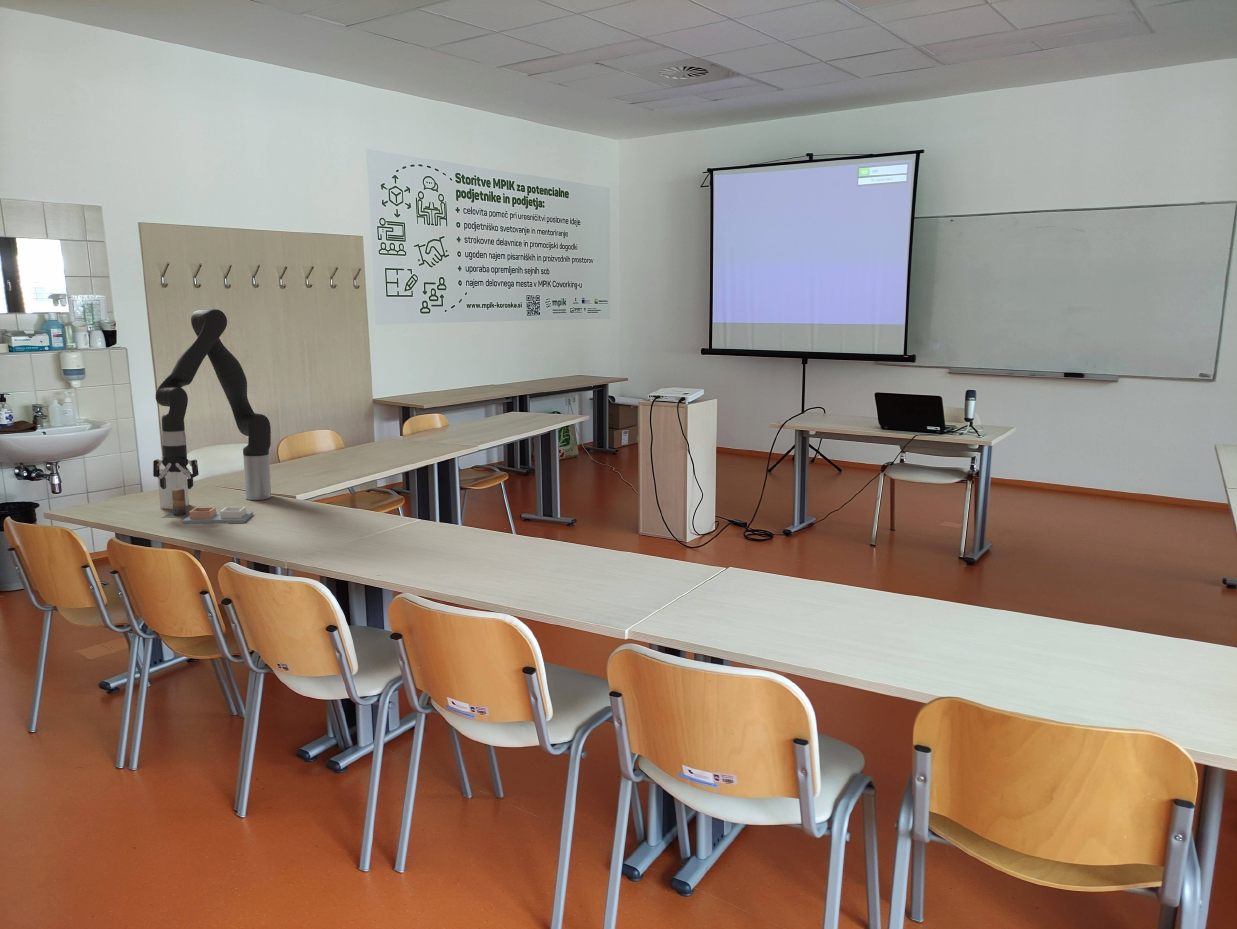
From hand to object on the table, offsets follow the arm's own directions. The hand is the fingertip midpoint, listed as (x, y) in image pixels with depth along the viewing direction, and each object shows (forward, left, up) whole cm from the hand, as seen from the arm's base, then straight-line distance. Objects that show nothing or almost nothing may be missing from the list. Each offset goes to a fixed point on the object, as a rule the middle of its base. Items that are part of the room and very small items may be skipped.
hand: (176, 488), depth 301 cm
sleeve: (0, 0, -9) cm, 9 cm away
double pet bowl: (+7, +15, -10) cm, 19 cm away
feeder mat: (0, 0, -10) cm, 10 cm away
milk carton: (-13, -6, -10) cm, 17 cm away
